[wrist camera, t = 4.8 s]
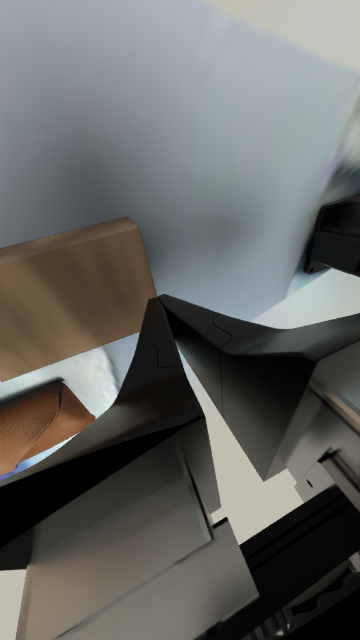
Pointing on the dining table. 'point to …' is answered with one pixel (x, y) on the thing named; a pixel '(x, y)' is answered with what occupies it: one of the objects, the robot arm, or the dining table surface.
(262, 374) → the robot arm
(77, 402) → the sunglasses case
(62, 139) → the dining table surface
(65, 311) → the walnut block
